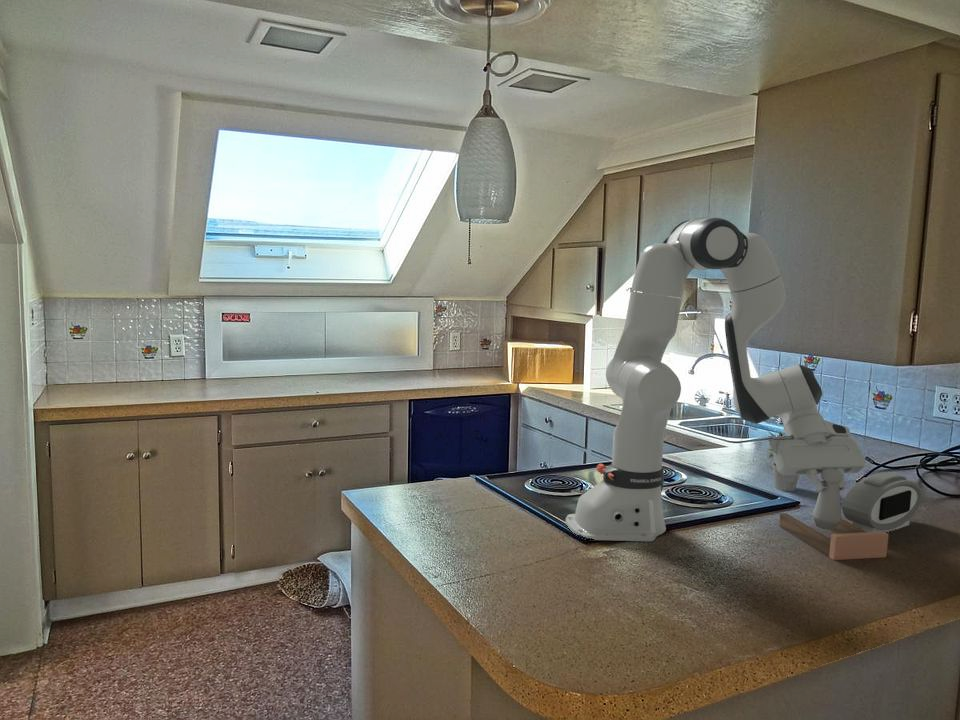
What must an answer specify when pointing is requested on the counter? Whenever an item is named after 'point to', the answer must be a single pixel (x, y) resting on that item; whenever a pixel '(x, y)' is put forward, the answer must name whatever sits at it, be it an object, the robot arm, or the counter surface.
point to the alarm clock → (882, 502)
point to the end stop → (858, 545)
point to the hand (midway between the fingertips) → (832, 489)
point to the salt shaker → (829, 501)
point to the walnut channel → (814, 532)
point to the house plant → (783, 476)
